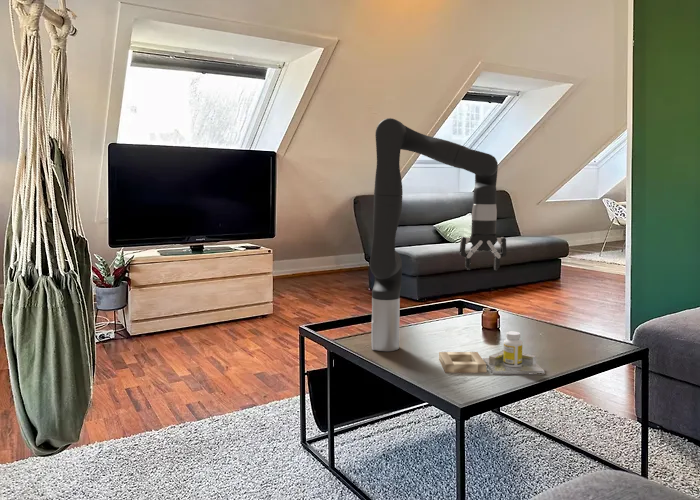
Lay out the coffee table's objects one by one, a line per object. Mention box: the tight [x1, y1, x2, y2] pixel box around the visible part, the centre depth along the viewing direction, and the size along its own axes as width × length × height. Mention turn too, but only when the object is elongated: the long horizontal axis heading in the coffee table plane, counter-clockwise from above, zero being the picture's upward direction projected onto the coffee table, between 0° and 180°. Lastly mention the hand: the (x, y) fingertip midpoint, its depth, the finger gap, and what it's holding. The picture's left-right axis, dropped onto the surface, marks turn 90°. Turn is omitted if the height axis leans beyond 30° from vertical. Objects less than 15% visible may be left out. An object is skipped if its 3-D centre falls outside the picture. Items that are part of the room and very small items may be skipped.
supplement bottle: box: [503, 330, 523, 367], centre depth 169 cm, size 5×5×10 cm
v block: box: [482, 349, 545, 375], centre depth 170 cm, size 15×12×4 cm
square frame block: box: [438, 351, 487, 374], centre depth 172 cm, size 12×12×2 cm
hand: (482, 269), depth 179 cm, fingers open, 8 cm apart
